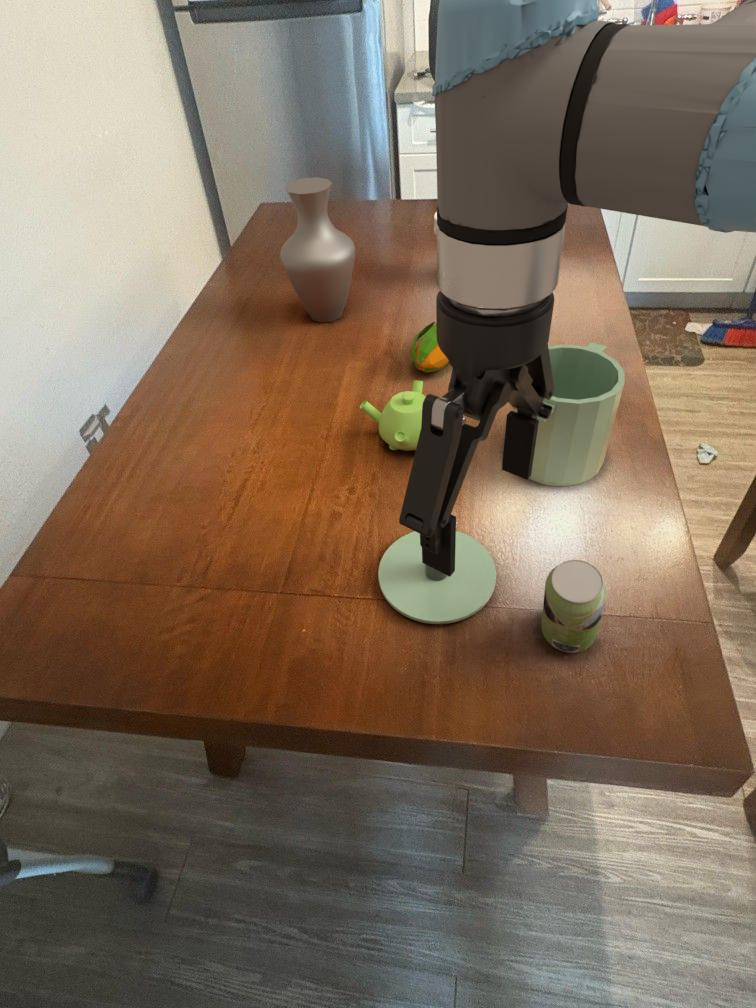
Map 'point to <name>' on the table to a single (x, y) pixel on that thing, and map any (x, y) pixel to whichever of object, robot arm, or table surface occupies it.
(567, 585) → the beverage can
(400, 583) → the lid
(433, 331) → the corn
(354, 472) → the table surface
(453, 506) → the robot arm
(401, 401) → the teapot
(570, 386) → the pot
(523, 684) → the table surface
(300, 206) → the vase
